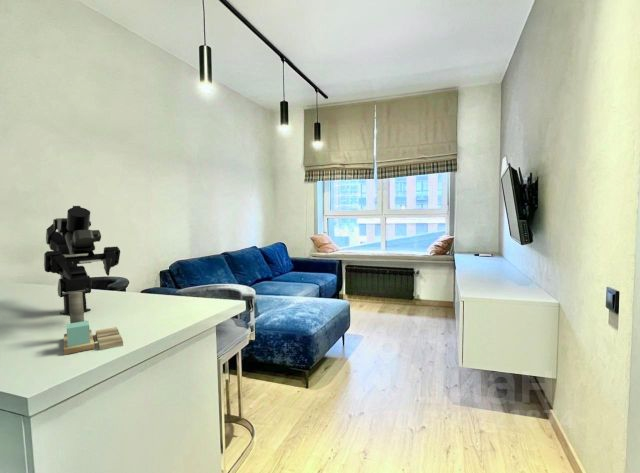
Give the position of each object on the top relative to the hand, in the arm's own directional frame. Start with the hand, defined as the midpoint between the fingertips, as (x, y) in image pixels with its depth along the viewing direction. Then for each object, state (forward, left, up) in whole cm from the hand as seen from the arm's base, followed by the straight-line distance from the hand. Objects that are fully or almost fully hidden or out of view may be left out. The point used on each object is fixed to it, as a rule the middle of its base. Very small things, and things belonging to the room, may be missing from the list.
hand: (90, 276), depth 101 cm
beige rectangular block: (+13, -5, -15) cm, 21 cm away
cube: (+11, -12, -14) cm, 21 cm away
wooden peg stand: (+8, -10, -15) cm, 20 cm away
